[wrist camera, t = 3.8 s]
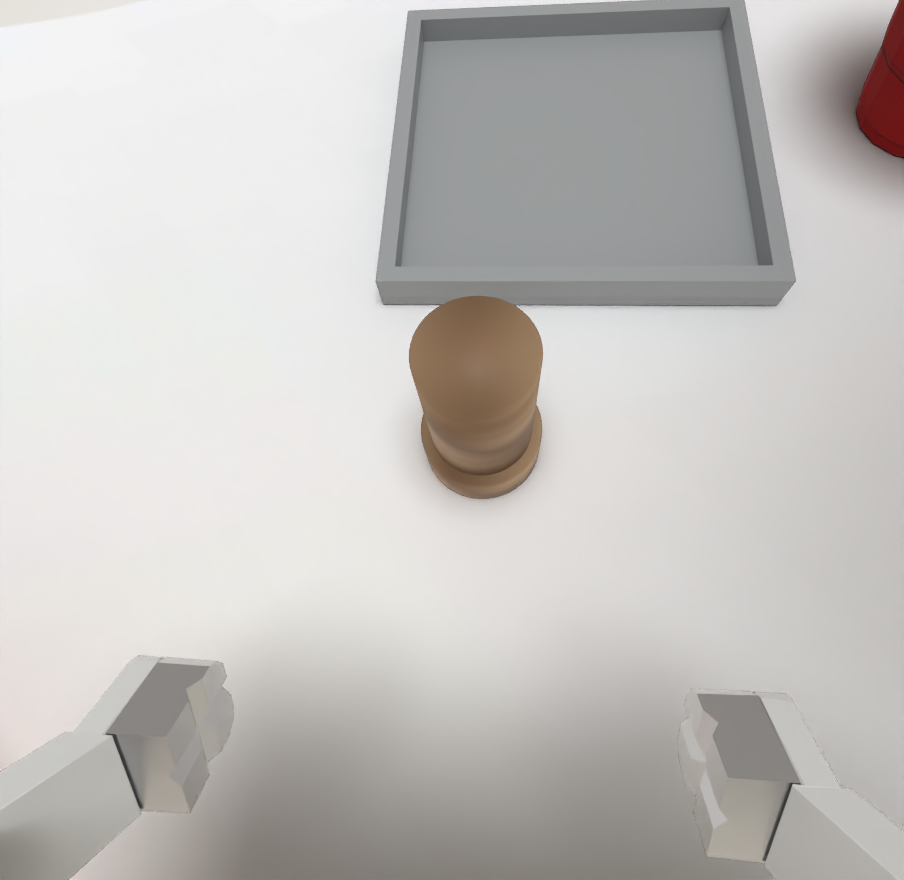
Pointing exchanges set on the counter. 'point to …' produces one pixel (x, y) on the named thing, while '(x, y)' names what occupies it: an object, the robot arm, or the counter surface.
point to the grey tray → (583, 159)
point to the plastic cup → (886, 91)
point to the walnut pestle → (478, 394)
